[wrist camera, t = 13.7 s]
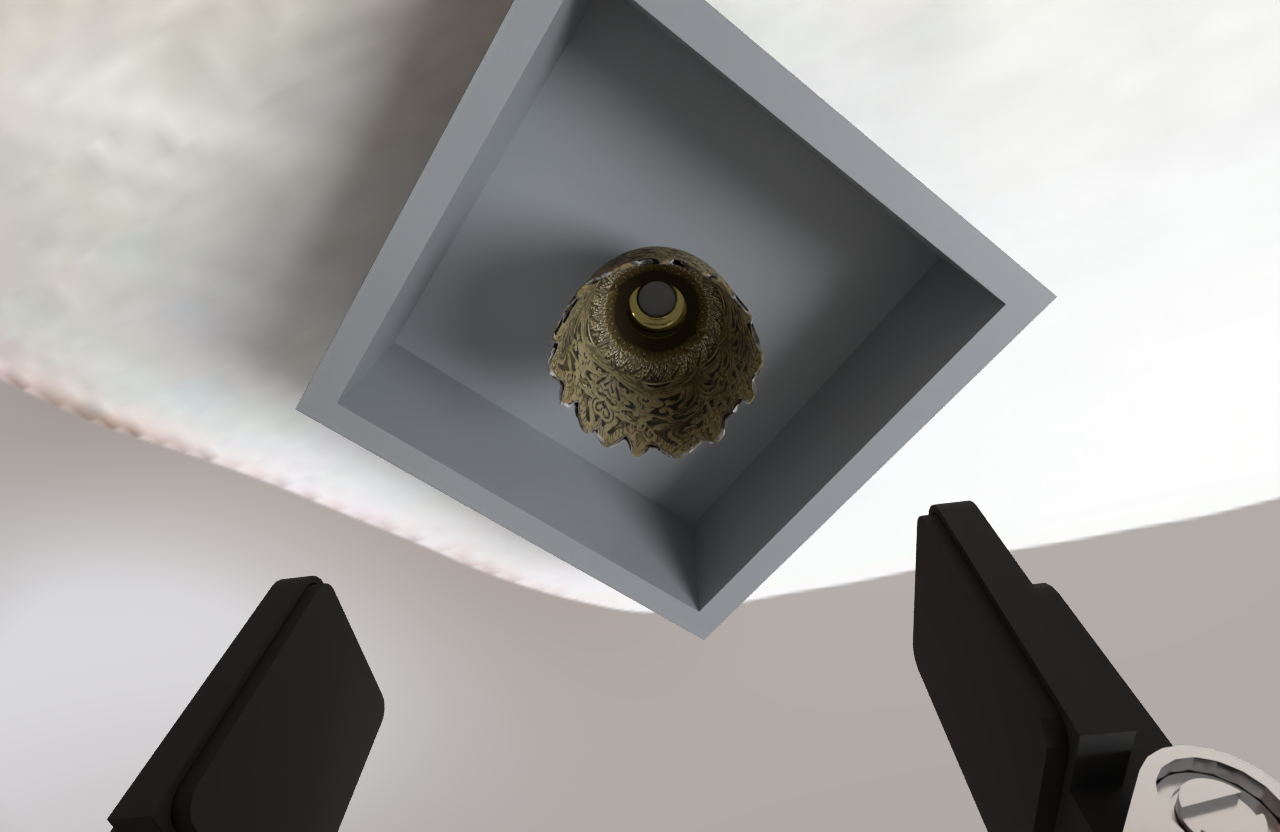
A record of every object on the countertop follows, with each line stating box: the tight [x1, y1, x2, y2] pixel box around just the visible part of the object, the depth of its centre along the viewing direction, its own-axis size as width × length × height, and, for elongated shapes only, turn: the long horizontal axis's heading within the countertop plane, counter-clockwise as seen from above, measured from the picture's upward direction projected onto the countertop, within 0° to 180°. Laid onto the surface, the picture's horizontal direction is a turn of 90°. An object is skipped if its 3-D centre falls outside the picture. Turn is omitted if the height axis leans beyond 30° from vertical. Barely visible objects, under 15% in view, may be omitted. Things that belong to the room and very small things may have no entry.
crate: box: [296, 0, 1057, 640], centre depth 29 cm, size 20×20×8 cm
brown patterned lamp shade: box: [548, 246, 763, 459], centre depth 28 cm, size 8×7×8 cm
